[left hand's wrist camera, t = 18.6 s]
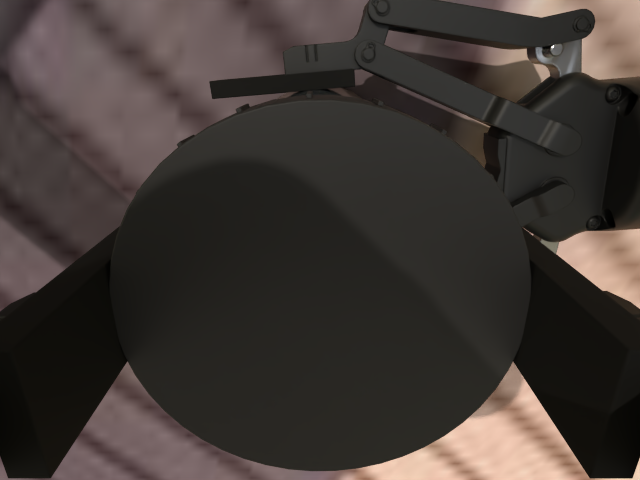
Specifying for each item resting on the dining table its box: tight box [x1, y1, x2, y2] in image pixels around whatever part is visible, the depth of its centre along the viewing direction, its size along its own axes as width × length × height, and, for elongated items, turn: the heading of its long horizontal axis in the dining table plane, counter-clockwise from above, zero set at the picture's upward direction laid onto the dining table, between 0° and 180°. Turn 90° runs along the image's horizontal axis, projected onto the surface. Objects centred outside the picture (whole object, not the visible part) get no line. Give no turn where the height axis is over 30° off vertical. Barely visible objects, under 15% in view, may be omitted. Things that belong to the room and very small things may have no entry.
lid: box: [109, 91, 531, 471], centre depth 11 cm, size 10×10×2 cm
